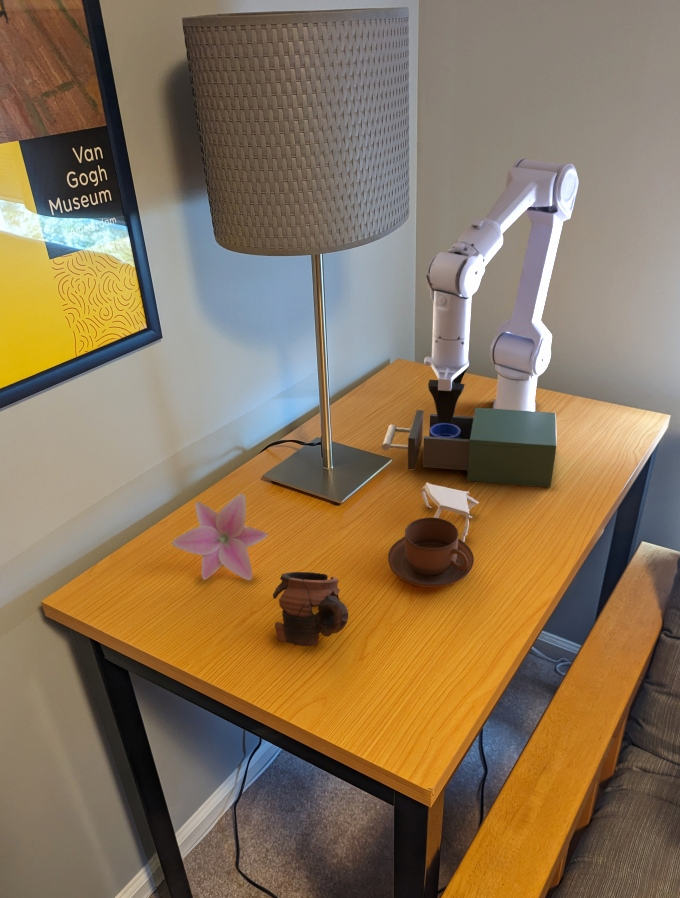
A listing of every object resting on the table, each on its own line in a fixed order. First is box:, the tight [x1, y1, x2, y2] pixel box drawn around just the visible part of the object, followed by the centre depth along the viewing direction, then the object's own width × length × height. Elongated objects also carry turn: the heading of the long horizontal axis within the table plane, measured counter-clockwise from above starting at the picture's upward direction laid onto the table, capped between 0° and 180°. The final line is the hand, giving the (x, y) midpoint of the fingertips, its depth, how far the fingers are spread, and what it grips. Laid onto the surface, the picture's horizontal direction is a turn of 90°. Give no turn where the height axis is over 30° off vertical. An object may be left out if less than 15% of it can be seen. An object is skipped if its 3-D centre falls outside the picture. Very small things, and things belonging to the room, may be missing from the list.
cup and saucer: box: [387, 517, 475, 588], centre depth 103 cm, size 12×12×6 cm
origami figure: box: [419, 482, 480, 543], centre depth 113 cm, size 12×8×5 cm
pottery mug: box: [272, 571, 349, 647], centre depth 95 cm, size 12×10×8 cm
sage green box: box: [466, 407, 558, 488], centre depth 125 cm, size 14×12×8 cm
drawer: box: [381, 409, 474, 471], centre depth 127 cm, size 17×10×6 cm, turn 79°
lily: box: [171, 493, 269, 581], centre depth 105 cm, size 12×12×10 cm
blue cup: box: [428, 423, 461, 439], centre depth 127 cm, size 5×5×4 cm
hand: (447, 412), depth 123 cm, fingers open, 6 cm apart
